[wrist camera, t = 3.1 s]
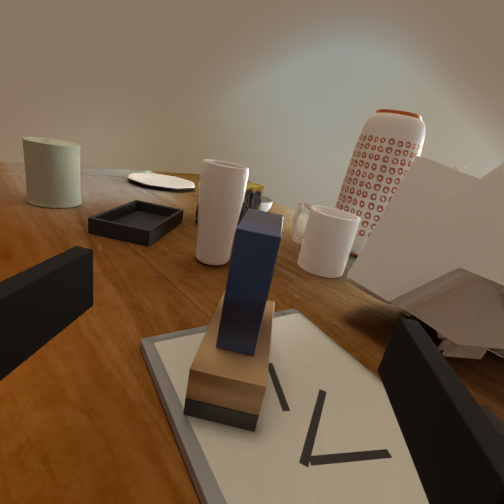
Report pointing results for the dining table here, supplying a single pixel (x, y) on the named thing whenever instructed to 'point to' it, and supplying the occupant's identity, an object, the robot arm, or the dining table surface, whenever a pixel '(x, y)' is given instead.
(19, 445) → the dining table surface
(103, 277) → the dining table surface
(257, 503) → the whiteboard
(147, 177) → the plate
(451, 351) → the tissue box
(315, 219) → the cup
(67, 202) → the can
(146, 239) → the tray
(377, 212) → the patterned vase
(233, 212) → the drinking glass
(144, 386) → the dining table surface
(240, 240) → the blue block with base
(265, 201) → the small pan
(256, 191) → the candle
